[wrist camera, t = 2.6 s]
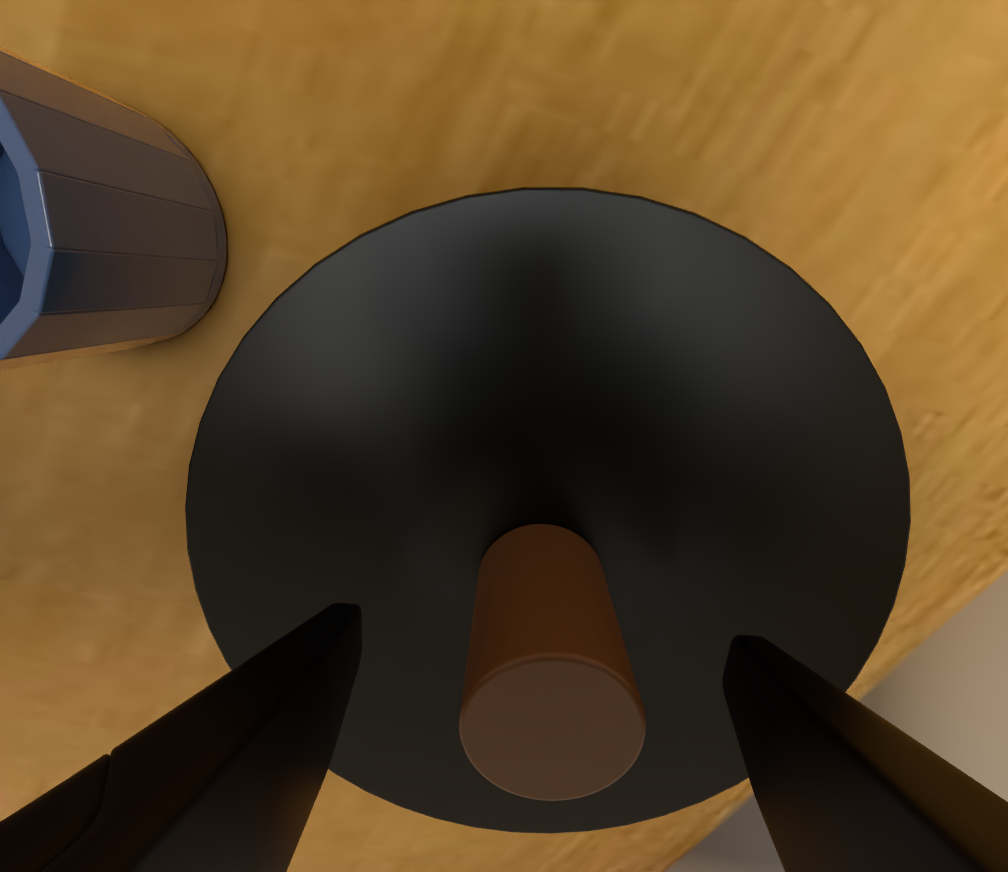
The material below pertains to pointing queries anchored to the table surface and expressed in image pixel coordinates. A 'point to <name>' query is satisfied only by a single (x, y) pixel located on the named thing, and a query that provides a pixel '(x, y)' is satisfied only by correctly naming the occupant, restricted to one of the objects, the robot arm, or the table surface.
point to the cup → (96, 223)
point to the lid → (549, 498)
